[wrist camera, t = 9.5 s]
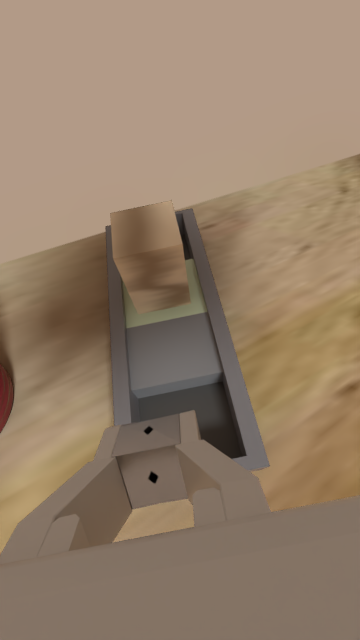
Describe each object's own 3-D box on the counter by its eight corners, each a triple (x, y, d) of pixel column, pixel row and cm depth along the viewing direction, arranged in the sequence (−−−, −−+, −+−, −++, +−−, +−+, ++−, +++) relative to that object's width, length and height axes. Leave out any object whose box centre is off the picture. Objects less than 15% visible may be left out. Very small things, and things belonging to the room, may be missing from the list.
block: (181, 264, 35) (171, 200, 27) (190, 303, 32) (182, 244, 24) (133, 274, 35) (110, 213, 27) (138, 314, 32) (112, 258, 24)
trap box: (194, 231, 42) (192, 208, 38) (262, 469, 25) (269, 466, 22) (114, 247, 42) (105, 226, 38) (130, 495, 25) (117, 496, 22)
